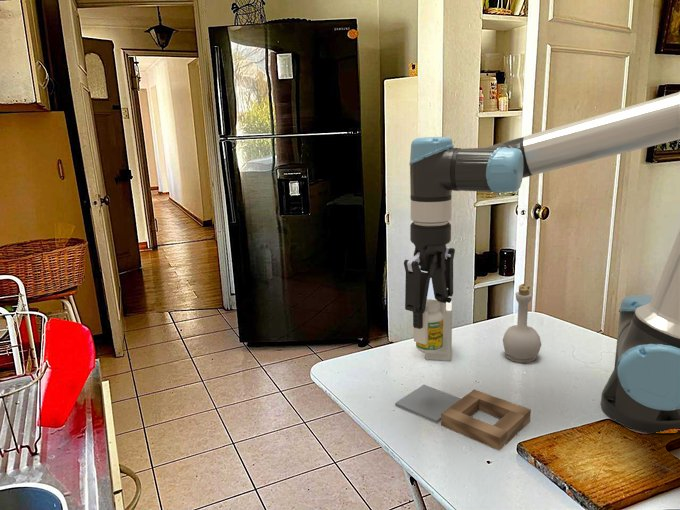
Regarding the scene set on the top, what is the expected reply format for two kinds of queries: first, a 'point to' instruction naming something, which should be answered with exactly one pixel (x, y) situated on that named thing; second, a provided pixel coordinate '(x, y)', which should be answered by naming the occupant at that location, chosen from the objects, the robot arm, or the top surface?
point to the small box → (444, 339)
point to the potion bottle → (522, 332)
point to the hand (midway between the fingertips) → (429, 337)
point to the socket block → (488, 434)
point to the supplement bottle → (433, 328)
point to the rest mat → (427, 402)
